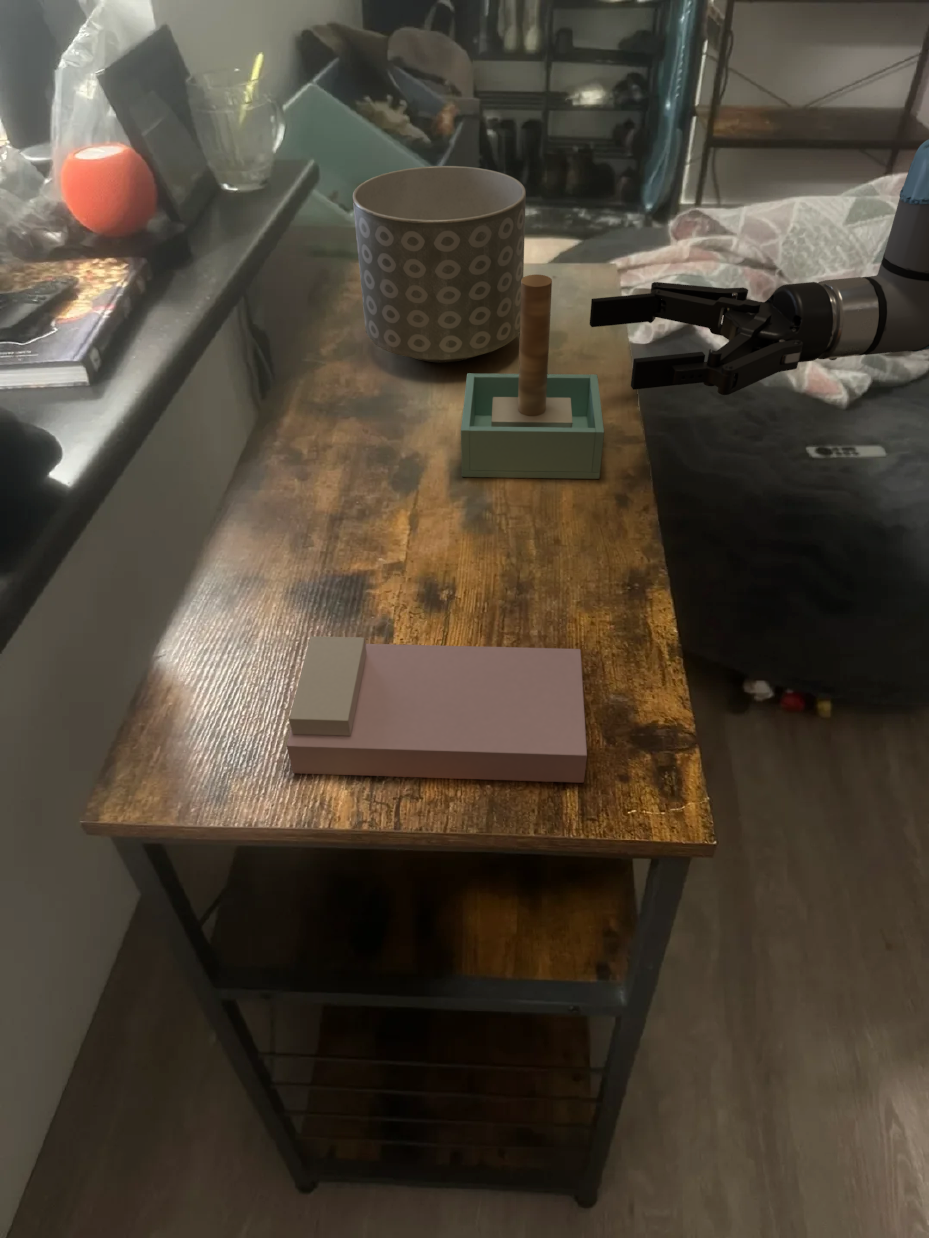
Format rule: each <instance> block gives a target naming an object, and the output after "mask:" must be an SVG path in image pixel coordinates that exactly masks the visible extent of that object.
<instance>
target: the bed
mask: <svg viewBox="0 0 929 1238" xmlns="http://www.w3.org/2000/svg"><path fill="white" fill-rule="evenodd" d="M583 681H584V680H583V665H582V650H581V648H554V647H551V648H550V647H516V646H515V647H511V646H477V645H475V646H474V645H472V646H471V645H439V644H437V645H436V644H432V645H431V644H398V643H397V644H394V643H393V644H392V643H366V638H365V637H362V636H361V637H359V636H323V635H322V636H320V635H319V636H317V635H311V636H310V637H309V642H308V645H307V650H306V653H305V656H304V659H303V664H302V668H301V671H300V676H299V679H298V682H297V687H296V689H295V690H296V691H295V694H294V698H293V702H292V705H291V709H290V713H289V717H288V721H289V725H290V731H289V735H288V739H287V741H286V742H287V743H286V749H287V753H288V756H289V761H290V766H291V769H292V773H293V774H304V775H305V774H307V775H337V776H363V777H364V776H365V777H367V776H368V777H394V778H395V777H397V778H423V779H424V778H427V779H455V780H457V779H459V780H485V781H486V780H489V781H490V780H491V781H514V782H515V781H517V782H518V781H519V782H520V781H521V782H548V783H549V782H550V783H551V782H552V783H579V784H583V783H584V782H585V775H586V767H587V760H588V759H587V758H588V749H587V747H588V746H587V745H588V744H587V731H586V716H585V715H586V714H585V713H586V712H585V698H584V682H583Z"/></svg>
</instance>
